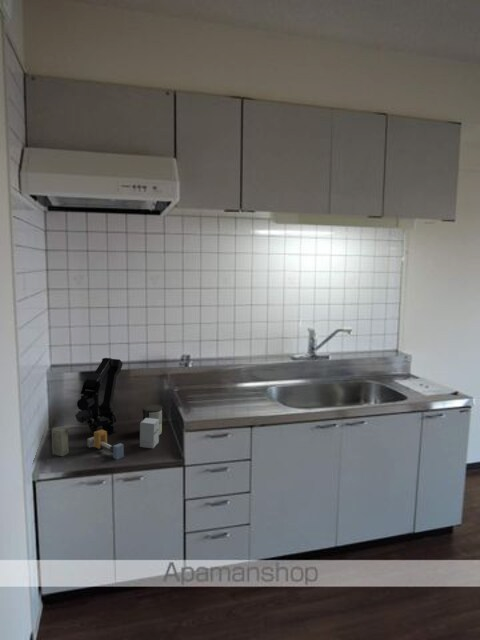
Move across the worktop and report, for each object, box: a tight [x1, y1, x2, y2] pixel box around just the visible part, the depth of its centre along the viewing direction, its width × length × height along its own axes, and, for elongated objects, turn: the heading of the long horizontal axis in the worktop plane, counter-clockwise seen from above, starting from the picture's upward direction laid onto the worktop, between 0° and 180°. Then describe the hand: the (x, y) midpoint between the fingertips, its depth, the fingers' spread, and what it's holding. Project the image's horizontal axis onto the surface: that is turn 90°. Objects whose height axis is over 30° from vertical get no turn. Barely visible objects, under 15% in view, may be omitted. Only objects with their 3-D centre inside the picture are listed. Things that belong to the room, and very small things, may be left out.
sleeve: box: [93, 429, 108, 449], centre depth 224 cm, size 4×5×7 cm
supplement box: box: [139, 418, 160, 449], centre depth 230 cm, size 7×7×13 cm
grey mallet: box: [86, 436, 125, 460], centre depth 222 cm, size 22×6×6 cm, turn 51°
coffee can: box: [142, 403, 163, 436], centre depth 245 cm, size 10×10×14 cm
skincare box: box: [51, 426, 70, 457], centre depth 217 cm, size 6×4×12 cm
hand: (93, 434), depth 228 cm, fingers closed
